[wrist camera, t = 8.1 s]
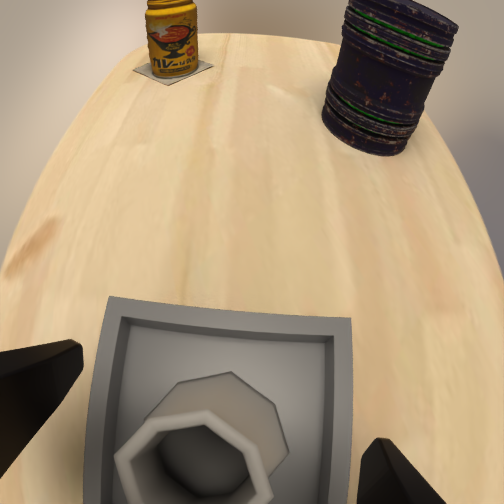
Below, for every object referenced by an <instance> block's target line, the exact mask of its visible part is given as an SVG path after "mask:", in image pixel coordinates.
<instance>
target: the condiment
mask: <svg viewBox="0 0 504 504" xmlns="http://www.w3.org/2000/svg"><path fill="white" fill-rule="evenodd" d="M147 6H148V9H147V10H146V13H145V20H146V31H147V39H148V48H149V57H150V61H151V63H147V64H145V65H143V66H141V67H138V68H136V69H134V71H136V72H138V73H141V74H144V75H146V76H148V77H150V78H152V79H154V80H156V81H158V82H161V83H163V84H166V85H170V84H172V83H174V82H177V81H179V80H182V79H184V78H186V77H189V76H191V75H193V74H196V73H198V72H200V71H202V70H204V69H206V68H209V67H211V66H214V65H212V64H209V63H206V62H203V61H200V60H198V40H197V39H198V38H197V30H198V29H197V6H196V4H195V3H194V2H193V0H148V1H147Z"/></svg>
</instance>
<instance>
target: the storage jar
mask: <svg viewBox="0 0 504 504" xmlns="http://www.w3.org/2000/svg"><path fill="white" fill-rule="evenodd" d="M348 4H349V5H350V6H347V7H346V11H345V15H344V18H345V20H344V25H342V36H343V40H342V44H341V48H340V52H339V56H338V60H337V64H336V66H335V67H334V68H333V70H332V74H331V79H330V81H329V82H328V86H327V90H326V98H325V105H324V107H323V110H322V120H323V122H324V124H325V126H326V127H327V128H328V130H329V131H330V132H331V133H332V134H333V135H334V136H336V137H337V138H338V139H340V140H341V141H343V142H344V143H346V144H347V145H349V146H351V147H353V148H355V149H358V150H360V151H363V152H366V153H369V154H373V155H378V156H394V155H397V154H399V153H401V152H402V151H403V150H404V148H405V146H406V144H407V140H408V139H409V138H410V137H411V134H412V133H413V132H414V131H415V129H416V127H417V125H418V123H419V119H420V117H421V115H422V112H423V110H424V102H425V100H426V98H427V96H428V94H429V91H430V89H431V87H432V84H433V82H434V80H435V78H436V77H437V76H439V75H440V73H441V71H442V70H443V66H444V64H445V61H446V60H447V59H448V57H449V54H450V52H451V49H450V48H449V47H451V46H452V44H453V41H454V39H453V37H454V34H456V33H457V31H458V28H459V26H458V25H457V24H455V23H454V22H452V21H451V20H449V19H448V18H446V17H445V16H443V15H441V14H439V13H437V12H436V11H434V10H432V9H430V8H428V7H426V6H424V5H422V4H419V3H417V2H415V1H413V0H349V3H348Z"/></svg>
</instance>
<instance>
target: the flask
mask: <svg viewBox="0 0 504 504" xmlns="http://www.w3.org/2000/svg"><path fill="white" fill-rule="evenodd" d="M289 453H290V451H289V448H288V445H287V441H286V438H285V435H284V432H283V428H282V425H281V422H280V418H279V415H278V412H277V409H276V405H275V403H273V402H272V401H271V400H269V399H268V398H266V397H265V396H264V395H262V394H261V393H260V392H258V391H257V390H256V389H254V388H253V387H251V386H250V385H249V384H247V383H246V382H245V381H244V380H242V379H241V378H240V377H238V376H237V375H236V374H234V373H233V372H232V371H229V372H225V373H220V374H216V375H211V376H206V377H202V378H197V379H191V380H186V381H181V382H178V383H177V384H176V385H175V386H174V387H173V388H172V389H171V390H170V391H169V392H168V393H167V395H166V396H165V397H164V398H163V399H162V400H161V401H160V402H159V403H158V404H157V405H156V407H155V408H154V409H153V410H152V411H151V412H150V413H149V414H148V415H147V416H146V417H145V418H144V424H143V425H142V426H141V427H140V428H139V429H138V430H137V431H136V432H135V434H134V435H133V436H132V437H131V438H130V439H129V440H128V441H127V442H126V443H125V444H124V445H123V446H122V447H121V448H120V449H119V450H118V451H117V452H116V453H115V454H114V455H113V456H114V460H115V463H116V467H117V470H118V474H119V477H120V481H121V484H122V487H123V490H124V493H125V496H126V499H127V502H128V504H268V503H269V502H270V501H271V500H272V498H273V497H274V495H273V492H272V489H271V486H270V483H269V480H268V478H269V477H270V475H271V474H272V473H273V472H274V471H275V470H276V469H277V467H278V466H279V465H280V464H281V463H282V462H283V460H284V459H285V458H286V457H287V456H288V454H289Z"/></svg>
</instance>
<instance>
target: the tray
mask: <svg viewBox="0 0 504 504" xmlns="http://www.w3.org/2000/svg"><path fill="white" fill-rule="evenodd" d="M229 371H232V372H233V373H234V374H236V375H237V376H238V377H240V378H241V379H242V380H244V381H245V382H246V383H247V384H249V385H250V386H251V387H253V388H254V389H256V390H257V391H258V392H260V393H261V394H262V395H264V396H265V397H266V398H268V399H269V400H271V401H272V402H273V403H275V405H276V409H277V412H278V415H279V418H280V422H281V425H282V428H283V432H284V435H285V438H286V441H287V445H288V448H289V451H290V453H289V454H288V456H287V457H286V458H285V459H284V460H283V462H282V463H281V464H280V465H279V466H278V467H277V469H276V470H275V471H274V472H273V473H272V474H271V475H270V477H269V478H268V480H269V483H270V486H271V489H272V492H273V495H274V497H273V498H272V500H271V501H270V502H269V503H268V504H347V497H348V487H349V476H350V462H351V446H352V422H353V352H352V326H351V318H342V317H318V316H299V315H283V314H268V313H255V312H243V311H231V310H220V309H210V308H200V307H191V306H182V305H173V304H165V303H157V302H149V301H142V300H135V299H127V298H120V297H114V296H109V298H108V302H107V306H106V311H105V315H104V319H103V324H102V329H101V333H100V338H99V343H98V349H97V354H96V360H95V365H94V371H93V378H92V384H91V391H90V399H89V407H88V416H87V426H86V437H85V451H84V473H83V504H128V502H127V499H126V496H125V493H124V490H123V487H122V484H121V481H120V477H119V474H118V470H117V467H116V463H115V460H114V456H113V455H114V454H115V453H116V452H117V451H118V450H119V449H120V448H121V447H122V446H123V445H124V444H125V443H126V442H127V441H128V440H129V439H130V438H131V437H132V436H133V435H134V434H135V432H136V431H137V430H138V429H139V428H140V427H141V426H142V425H143V424H144V418H145V417H146V416H147V415H148V414H149V413H150V412H151V411H152V410H153V409H154V408H155V407H156V405H157V404H158V403H159V402H160V401H161V400H162V399H163V398H164V397H165V396H166V395H167V393H168V392H169V391H170V390H171V389H172V388H173V387H174V386H175V385H176V384H177V383H178V382H181V381H186V380H191V379H197V378H202V377H206V376H211V375H216V374H220V373H225V372H229Z"/></svg>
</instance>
